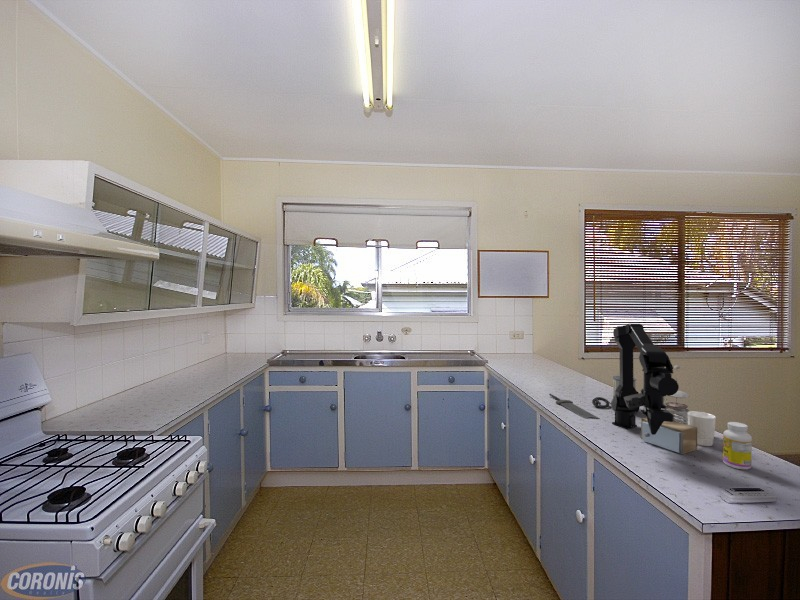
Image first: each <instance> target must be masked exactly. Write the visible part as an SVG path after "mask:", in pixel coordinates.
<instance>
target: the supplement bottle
mask: <svg viewBox="0 0 800 600" xmlns="http://www.w3.org/2000/svg"><path fill="white" fill-rule="evenodd" d="M748 427H749V426H748V425H747V424H745V423H743V422H742V423H741V422H738V421H737V422H736V421H728V422H727V428H728V429H725V430H724V431H723V434H722V435H723V438H722V440H723V441H722V462H723V463H724V464H725V465H726V466H728V467H730V468H732V469H733V468H734V469H738V470H750V469H751V468H752V449H753V448H752V447H753V445H752V444H753V443H752V442H753V436H751V434H749V433H748V430H749V428H748Z"/></svg>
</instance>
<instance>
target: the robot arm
mask: <svg viewBox="0 0 800 600" xmlns="http://www.w3.org/2000/svg"><path fill="white" fill-rule="evenodd" d="M612 333H613V337H614V342H615V343H616V345H617V347H618V348H619V376H620V385H619V386H618V388H617V389H616V390H615V396H614V397H613V396H612V397H613V398H612V399H611V402H610V403H611V404H610V405H611V409H612V410H613V409H614V410H615V411H614V410H613V411H614V421H613V422H612V423H611V424H612V425H615V426H617V427H621V428H623V429H632V428H636V427H637V426H638V424H636V421H637V420H636V415H635V413H639V412H640V411H641V413H643V415H644V416H645V417H647V420H648V424H649V428H650V432H651V434H652V435H655V434H656V433H657V431H658V429H659V428H660V426H661V425H662V423H663V422H664V421H666V422H674V416H673V415H674V414H673V415H672V414H671V413H670V412H669V411H668V410H665V409H666V406H667V405H666V404H665V400H664V397H666V396H667V397H670V395H674V394H675V393H676V392H677V391H678V390H679V387H680V386H679V383H678V380H677V379H675V378H673V377H672V375H673V374H674V366H673V364H672V362H671V360H670V358H669V355H668V354H667V352H666V351H665V350H664V349H663V348H662V347H660V346H658V345H655V344H654V343H653V341H652V339H651V338H650V337H649V335H648V334H647V332H646V331H645V330H644V325H643V324H641V323H627V324H624V325H619V326H618V325H617V326H616V327H615V328H614V329H613V332H612ZM635 348H637V350H638V351H639V356H638V359H639V363H640V366H641V367H642V369H641V371H642V372H643V385H642V386H643V388H641V389H640V393H639V391H637V389H636V387H635V388H634V383H633V378H634V349H635ZM640 407H642V408H643V409H640Z"/></svg>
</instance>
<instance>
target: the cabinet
mask: <svg viewBox="0 0 800 600" xmlns="http://www.w3.org/2000/svg"><path fill="white" fill-rule="evenodd" d="M642 422H647V423H648V420H647V417H646V416H645V417H642V418H641V421H640V423H641V425H640V428H641V429H640V434H641V435H640V440H642ZM661 427H664V428H667V429H671V430H674V431H677V432H683V454H682V455H684V454H688V453H690V452H694V451H697V450H698V445H697V427H694V426H691V425H687V424H684V423H681V422H678V421H674V422H666V421H664V422H663V423H662V425H661Z"/></svg>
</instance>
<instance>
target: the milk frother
mask: <svg viewBox="0 0 800 600" xmlns="http://www.w3.org/2000/svg"><path fill="white" fill-rule="evenodd" d="M612 378H613V380H612V382H613V384H612V386H613V387H612V389H613V392H612V393H613V394H612V395H613V396H612V397H614V396H615V390H616V389H617V388H618V386H619V385H620V375H614V376H613V375H612ZM636 381H637V378H635V377H633V383H634V388H635V389H636ZM601 401H603V402H604V403H605V404H604V405H601V404H602V402H601ZM591 403H592V404H593V406H594V407H597V408H601V409H606V408H607V409H608V407H610V405H611V402H610V401H609V400H608V399H607V398H604V397H601V396H600V397H599V396H597V397H594V398H593V399H592V401H591ZM612 410H613V412H615V410H614V409H612Z"/></svg>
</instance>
